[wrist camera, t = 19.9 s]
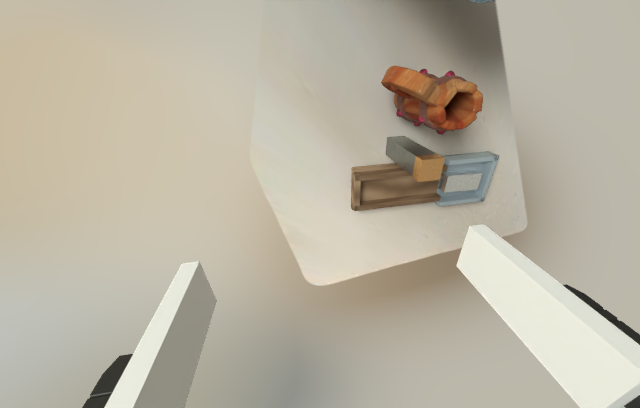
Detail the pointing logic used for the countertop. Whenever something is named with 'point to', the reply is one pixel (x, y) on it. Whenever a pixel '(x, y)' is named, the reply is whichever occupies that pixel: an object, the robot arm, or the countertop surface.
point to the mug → (433, 98)
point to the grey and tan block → (415, 158)
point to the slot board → (389, 187)
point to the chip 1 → (451, 181)
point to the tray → (477, 161)
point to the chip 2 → (471, 179)
